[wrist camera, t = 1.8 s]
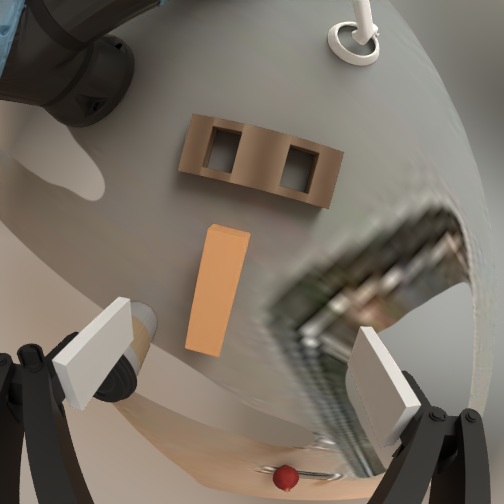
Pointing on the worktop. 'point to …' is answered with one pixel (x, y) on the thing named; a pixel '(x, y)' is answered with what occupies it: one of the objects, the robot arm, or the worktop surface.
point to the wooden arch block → (216, 288)
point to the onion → (285, 478)
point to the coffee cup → (130, 357)
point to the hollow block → (261, 159)
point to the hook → (357, 35)
